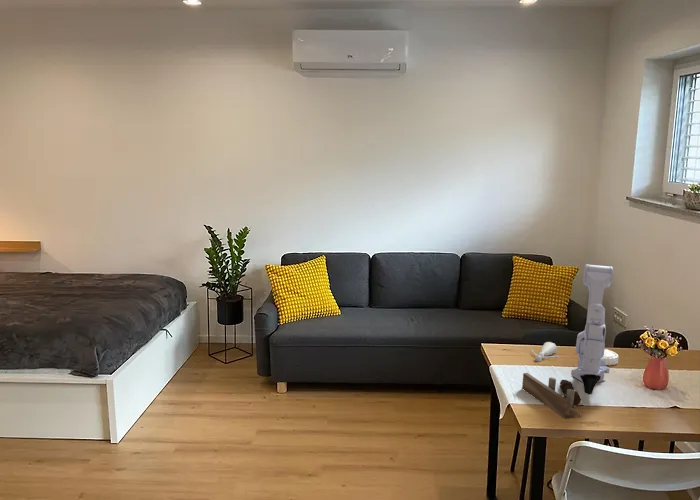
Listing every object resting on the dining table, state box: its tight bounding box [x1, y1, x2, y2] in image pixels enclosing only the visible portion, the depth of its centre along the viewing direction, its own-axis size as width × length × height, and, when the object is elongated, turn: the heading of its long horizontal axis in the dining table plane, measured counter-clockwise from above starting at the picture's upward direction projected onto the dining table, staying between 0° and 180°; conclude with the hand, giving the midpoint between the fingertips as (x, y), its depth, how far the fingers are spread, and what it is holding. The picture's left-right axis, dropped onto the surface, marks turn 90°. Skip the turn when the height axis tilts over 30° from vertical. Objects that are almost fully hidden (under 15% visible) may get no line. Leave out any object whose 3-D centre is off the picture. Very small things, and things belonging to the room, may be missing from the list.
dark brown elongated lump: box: [559, 379, 582, 407], centre depth 212 cm, size 6×5×15 cm
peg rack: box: [521, 372, 582, 420], centre depth 207 cm, size 8×24×6 cm, turn 18°
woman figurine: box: [530, 341, 558, 363], centre depth 251 cm, size 12×4×18 cm
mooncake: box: [603, 348, 619, 366], centre depth 248 cm, size 12×12×4 cm
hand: (587, 393), depth 212 cm, fingers closed
